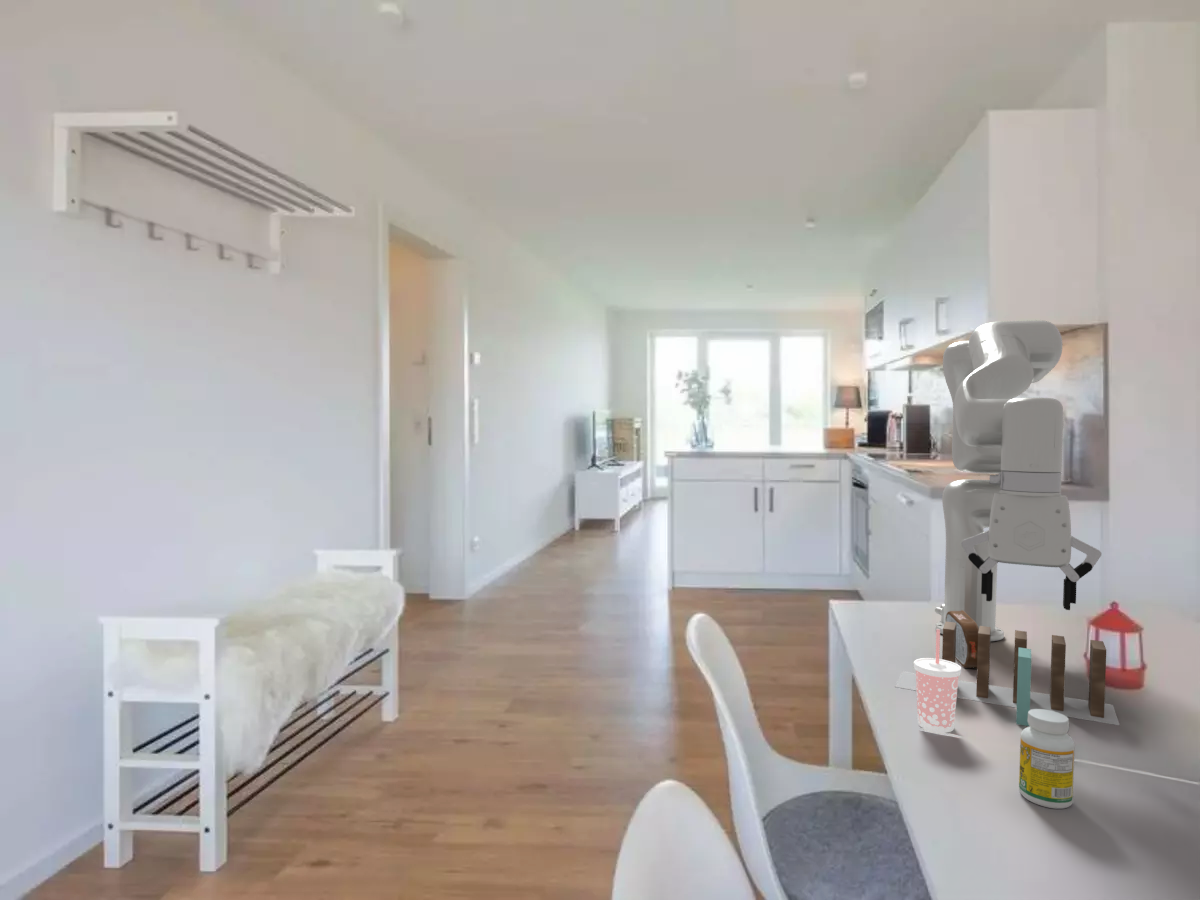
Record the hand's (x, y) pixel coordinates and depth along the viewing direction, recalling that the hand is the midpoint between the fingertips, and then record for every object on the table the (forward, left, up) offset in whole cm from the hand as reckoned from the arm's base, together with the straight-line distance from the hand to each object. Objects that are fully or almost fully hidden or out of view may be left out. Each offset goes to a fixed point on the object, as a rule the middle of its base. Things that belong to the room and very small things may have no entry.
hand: (1027, 603), depth 107 cm
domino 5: (-4, +10, -17) cm, 20 cm away
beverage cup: (-1, -14, -17) cm, 22 cm away
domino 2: (-11, +2, -17) cm, 20 cm away
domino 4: (0, 0, -17) cm, 17 cm away
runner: (-9, +4, -17) cm, 20 cm away
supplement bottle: (+19, -15, -17) cm, 30 cm away
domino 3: (-7, +6, -17) cm, 19 cm away
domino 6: (0, +13, -17) cm, 21 cm away
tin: (-26, +11, -18) cm, 33 cm away
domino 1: (-14, -1, -17) cm, 22 cm away
